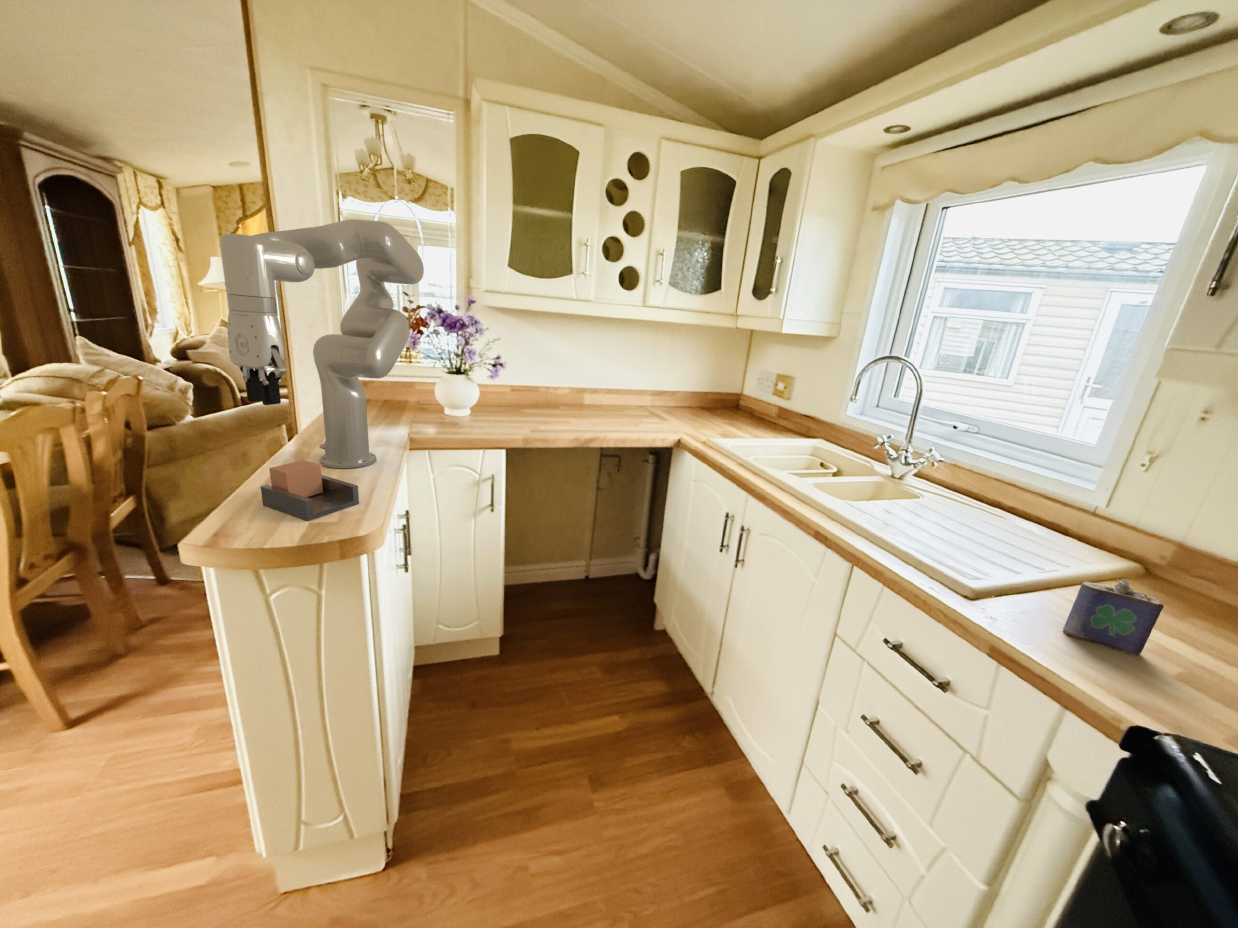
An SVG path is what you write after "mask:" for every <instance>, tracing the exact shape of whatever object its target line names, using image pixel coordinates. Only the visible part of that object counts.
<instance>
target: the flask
mask: <svg viewBox="0 0 1238 928" xmlns="http://www.w3.org/2000/svg"><path fill="white" fill-rule="evenodd" d="M1116 581H1118V582H1117V584H1114V587H1113V586H1112V587H1111V586H1107V585H1103V584H1099V583H1095V582H1090V581H1083V582H1081V585H1080V587H1079V589H1078V593H1077V595H1076V597H1075V599H1074V602H1073V604H1072V607H1071V609H1070V611H1069V614H1068V617H1067V619H1066V621H1065V624H1064V625H1063V627H1062V630H1063V631H1062V632H1064V635H1067V636H1070V637H1072V638H1074V639H1076V640H1080V641H1085V642H1088V643H1091V644H1093V645H1095V646H1096V645H1097V646H1100V647H1107V648H1110V649H1112V650H1116V651H1119V652H1120V653H1125V654H1128V655H1130V656H1134V657H1137V656H1138V657H1139V656H1140V654H1142V652H1143V650H1144V647H1145V645H1146V644H1147V641H1148V639H1149V637H1151V634H1152V631H1153V629H1154V627H1155V625H1156V623H1157V621H1158V619H1159V617H1160V615H1161V612H1162V610H1163V609H1164V604H1163V603H1162V601H1160V600H1158V599H1157V598H1154V597H1151V596H1150V595H1148V594H1147V593H1143V592H1138V591H1134V590H1133V589H1132V588H1131V587H1130V584H1131V582H1130V581H1129V580H1128V579H1124V578H1121V579H1119V578H1116Z"/></svg>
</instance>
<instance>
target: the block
mask: <svg viewBox="0 0 1238 928" xmlns="http://www.w3.org/2000/svg"><path fill="white" fill-rule="evenodd" d="M321 467H322V464H321V463H319V464H318V463H315V462H313V461H312V462H311V461H310V460H309V461H308V460H305V459H302V460H299V461H295V462H294V461H293V462H290V463H285V464H282V465H280V464H279V465H277V466H272V467H268V469H269V477H270V483H271V484H270V486H272V487H275V488H278V489H281V490H284V491H287V492H290V493H294V494H297V495H300V496H303V497H308V496H312V495H315V494H319V493H322V492H323V488H322V476H321V475H322V469H321Z"/></svg>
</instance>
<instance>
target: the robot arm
mask: <svg viewBox="0 0 1238 928" xmlns="http://www.w3.org/2000/svg"><path fill="white" fill-rule="evenodd" d="M219 247H220V254H221V262H222V271H223V276H224V283H225V286H224V287H225V294H226V299H227V307H228V308H227V309H228V316H227V341H228V343H227V344H228V355H229V359H230V362H231V363H232V364H233V365H234V366H235V365H236V366H237V367H238V368H239V370H240V372H241V373H242V378H243V381H244V384H245V390H246V391H245V392H246V399H247V401H248V402H249V403H250V402H251V403H252V402H253V403H254V402H262V405H264V406H271V405H280V404H281V403H282V401H281V392H280V391H281V390H280V384H281V383H282V382H281V378H282V377H283V375H285V374H286V373H287V368H286V366H285V363H286V355H285V354H286V353H285V345H284V341H283V339H284V338H283V334H282V329H281V325H280V322H279V317H278V316H279V315H278V314H279V313H278V311H279V310H278V303H277V293H276V284H275V281H276V282H285V283H302V282H305V281H308V280H309V279H310V278H311V277H312V276H313V275H314V273H315V269H331V268H333V269H334V268H337V267H340V266H342V265H346V264H349V263H351V262H354V261H356V262H355V264H356V271H357V276H358V282H359V293H358V294H357V296H356V298H355V299H354V301H353V302H352V304H351V305H350V306H349V308H348V309H347V310H346V312H345V314H344V315H343V316H342V318H341V322H340V325H339V329H340V330H339V331H340V333H341V334H339V333H338V334H336V333H335V334H333V333H331V334H325V335H323V336H321V337H319V338H318V339H317V340H316V341H315V343H314V345H313V349H312V356H313V361H314V364H315V368H316V369H317V374H318V377H319V378H318V379H319V383H320V389H321V400H322V412H323V413H322V414H323V423H324V424H323V426H324V427H323V428H324V435H325V437H324V439H325V441H324V443H320V444H319V448H320V449H322V450H324V455H322V456H321V457H320V458H319V464H320V465H321V466H324V467H327V468H332V469H333V468H334V469H354V468H361V467H366V466H369V465H372V464H373V463H375V462H376V461H377V456H376V454H374V453H373V452H371V451H370V444H369V443H370V442H369V429H368V428H369V427H368V424H369V423H368V412H367V411H368V410H367V409H368V408H367V407H368V406H367V395H366V390H365V388H364V386H363V384H362V382H361V381H360V378H366V379H367V378H368V379H382V378H385V377H386V376H388V375H389V373H391V371H392V369H393V367H394V366H395V364H396V363H397V361H398V359H399V358H400V356H401V354H402V353H403V351H404V349H405V347H406V346H407V344H408V340H409V336H410V324H409V321H408V318H407V317H406V315H404V313H402V312H401V311H399V310H398V309H394V300H393V298H392V296H391V294H390V292H389V291H388V289H387V288H386V285H385V283H390V284H391V283H392V284H400V285H401V284H402V285H415V284H418V283H420V282H421V280H422V279H423V276H424V273H425V271H424V270H425V268H424V262H423V261H422V258H421V257H420V254H419V253H418V252H417V251H416V249H415V248H414V247H413V246H412V245H411V244H410V242H409V241H408V240H407V239H406V238H405V237H404V235H403V234H402V233H401V232H400V231H399V230H397V228H396V227H394V226H393V225H392V224H390V223H388V222H385V221H378V220H368V219H367V220H366V219H355V218H354V219H345V220H341V221H336V222H331V223H326V224H324V225H323V224H322V225H318V226H309V227H302V228H301V227H300V228H296V229H288V230H286V229H285V230H276V231H269V232H261V233H258V234H252V235H247V234H243V233H242V234H240V233H224V234H222V235H221V236H220V239H219ZM268 372H269V373H268Z"/></svg>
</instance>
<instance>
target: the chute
mask: <svg viewBox="0 0 1238 928" xmlns="http://www.w3.org/2000/svg"><path fill="white" fill-rule="evenodd" d="M321 476H322V488H323V492H322V493H319V494H315V495H312V496H308V497H303V496H300V495H297V494H294V493H290V492H287V491H284V490H281V489H278V488H275V487H272V486H271V485H269V484H265V485H262V486H260V491H261V500H262V506H263V507H266V508H269V509H272V510H274V511H277V512H280V513H283V514H285V515H288V516H292V517H294V518H297V519H299V520H303V521H307V522H311V521H313V520H316V519H318V518H322V517H325V516H327V515H330V514H333V513H336V512H339V511H342V510H345V509H347V508H351V507H353V506H357V505H359V504H360V497H359V485H358V484H354V483H350V482H347V481H343V480H340V479H337V478H333V477H330V476H326V475H323V474H321Z"/></svg>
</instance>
